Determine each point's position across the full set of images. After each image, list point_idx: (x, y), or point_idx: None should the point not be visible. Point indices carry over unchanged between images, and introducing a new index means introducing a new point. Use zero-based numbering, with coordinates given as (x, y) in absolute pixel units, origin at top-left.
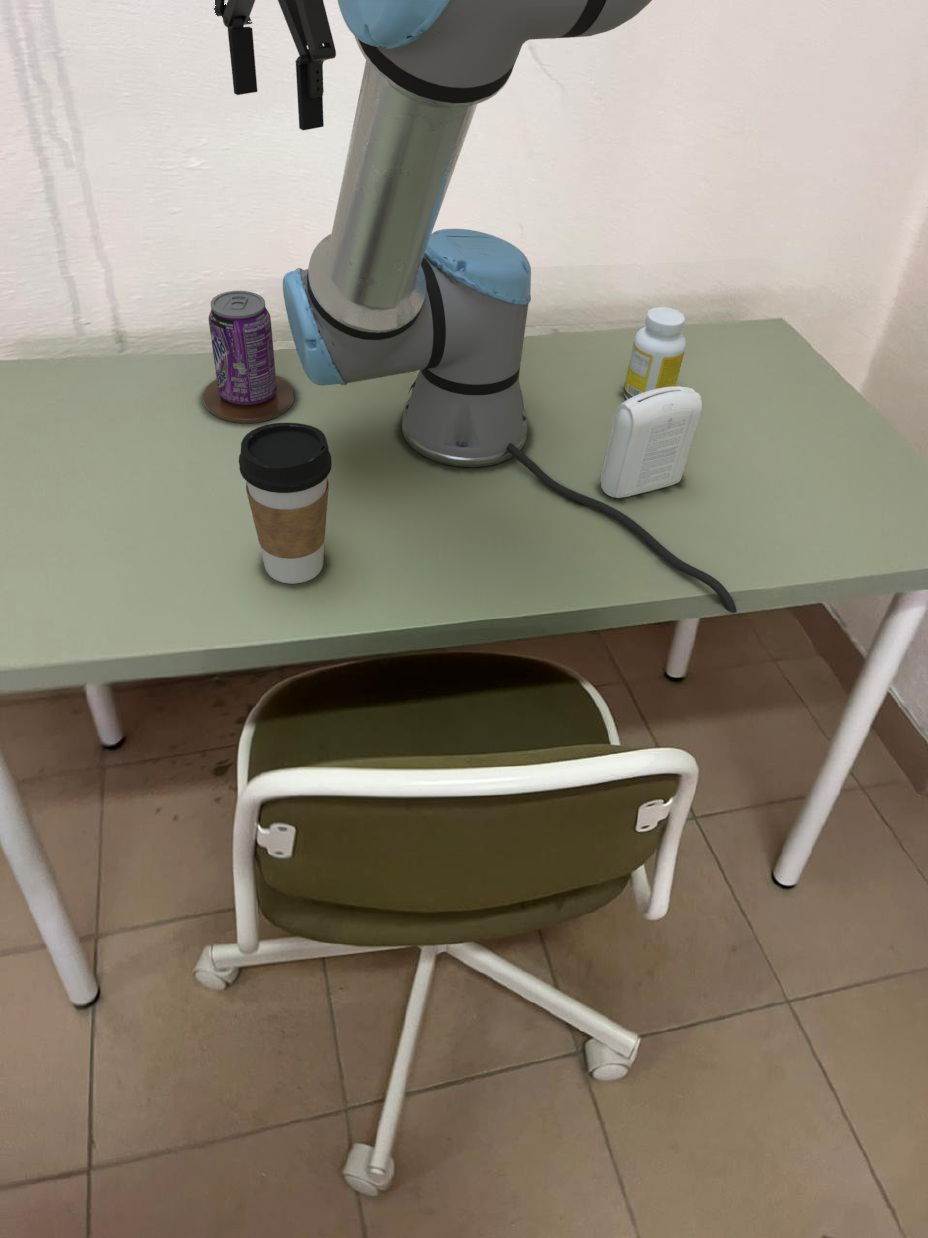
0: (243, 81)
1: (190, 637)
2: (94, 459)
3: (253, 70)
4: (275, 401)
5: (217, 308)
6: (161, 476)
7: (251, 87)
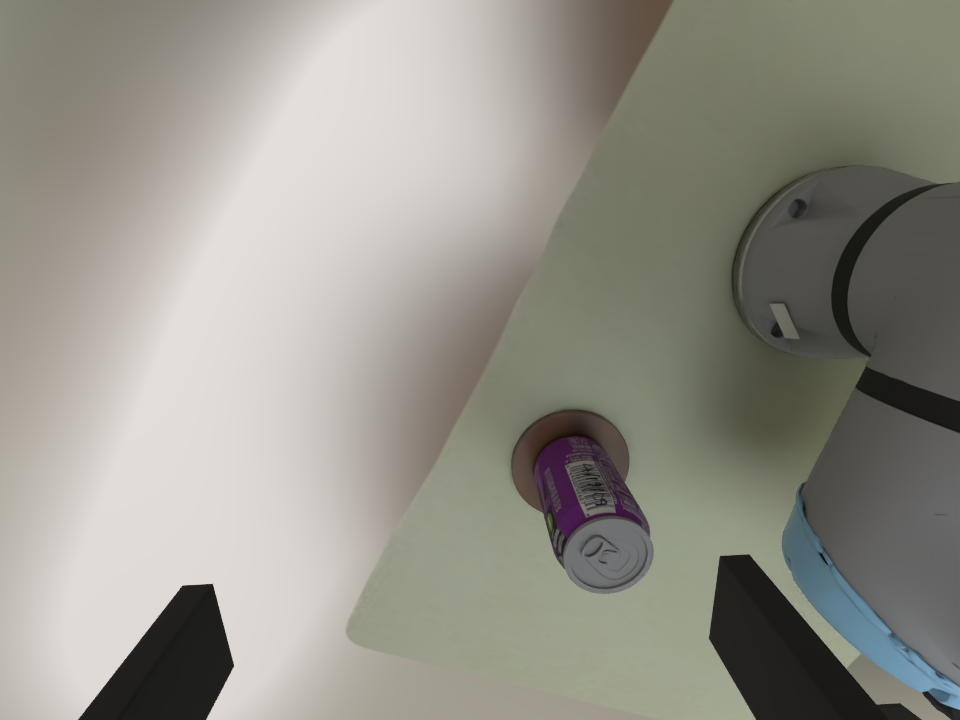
0: (199, 685)
1: (848, 653)
2: (576, 633)
3: (159, 679)
4: (605, 447)
5: (598, 583)
6: (644, 596)
7: (208, 626)
